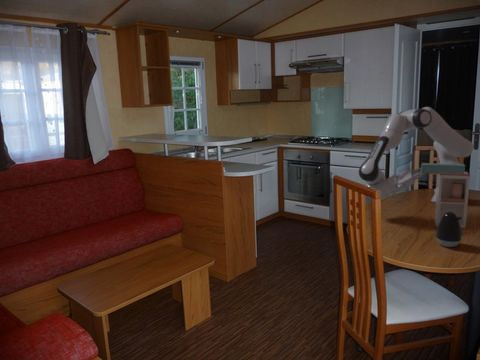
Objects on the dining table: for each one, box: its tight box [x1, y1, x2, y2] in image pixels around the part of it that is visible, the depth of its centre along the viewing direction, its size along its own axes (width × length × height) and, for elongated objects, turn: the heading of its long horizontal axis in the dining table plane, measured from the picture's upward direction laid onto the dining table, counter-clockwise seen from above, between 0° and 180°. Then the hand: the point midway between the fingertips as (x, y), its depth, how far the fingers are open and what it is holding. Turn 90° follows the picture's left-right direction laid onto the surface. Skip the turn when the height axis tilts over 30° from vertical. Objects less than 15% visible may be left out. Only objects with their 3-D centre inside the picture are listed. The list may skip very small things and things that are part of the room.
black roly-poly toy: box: [435, 212, 463, 248], centre depth 180 cm, size 10×10×15 cm
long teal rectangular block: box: [420, 162, 466, 175], centre depth 204 cm, size 4×19×4 cm, turn 70°
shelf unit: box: [434, 171, 471, 229], centre depth 205 cm, size 9×13×27 cm
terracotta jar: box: [451, 183, 463, 199], centre depth 203 cm, size 5×5×8 cm
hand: (421, 171), depth 207 cm, fingers open, 8 cm apart
